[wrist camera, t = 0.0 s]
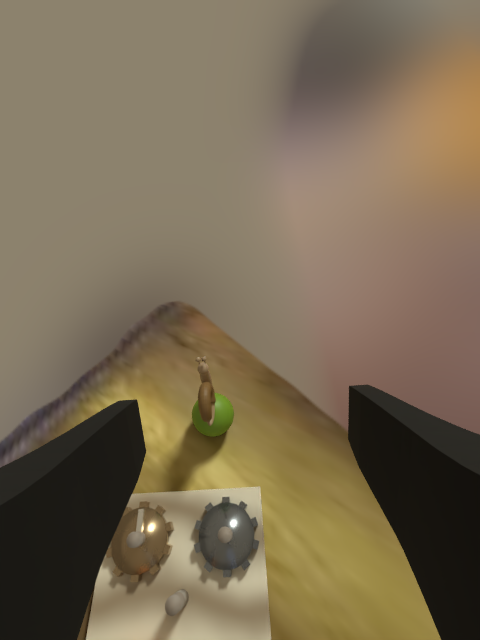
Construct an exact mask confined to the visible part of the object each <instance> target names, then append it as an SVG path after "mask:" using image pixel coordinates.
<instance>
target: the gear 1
mask: <svg viewBox="0 0 480 640" xmlns="http://www.w3.org/2000/svg"><path fill="white" fill-rule="evenodd" d="M149 505H150V502H147V501H143V502H140V504H139V508H136V509H133V510H132V508H131V507H127V508H126V509H125V511H124V513H123V518H122V519H121V520H120V522H119V525H118V527H117V529H116V531H115V534H114V536H113V538H112V541H111V547H110V548H108V550H107V552H106V558H110V557H112V558H113V561H114V563H115V565H116V567H115V569H114V570H113V571H112V572H113V573H114V574H115V575H116V576H117V577H120V576H122V575H123V574H124V573H126V574H129V575H131V579H130V582H139V581H141V580H142V573H145V572H148V571H150V573H151V575H154V574H156V573H157V572H158V571H159V570H160V569H161V566H160V564H159V562H160V561H161V559H162V558H163V556H164V554H166V555H169V554H171V550H172V547H173V545H170V544H168V542H169V532H170V531H172V530H174V527H173V522H167V521H166V519H165V518H164V516H163V514H164V513H165V511H166V510H165V509H164V508H163V507H162V506H159V505H158V506H157V507H156V509H153V508H149ZM131 532H143V533H144V534H145V542H144V544H143V545H142V546H141V547H137V548H130V547H128V546H127V542H126V540H127V537H128V535H129V534H130V533H131Z"/></svg>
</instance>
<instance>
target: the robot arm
mask: <svg viewBox="0 0 480 640" xmlns="http://www.w3.org/2000/svg"><path fill="white" fill-rule="evenodd" d="M348 440H349V442H350V445H351V448H352V451H353V453H354V456H355V458H356V461H357V463H358V466H359V468H360V470H361V472H362V474H363V475H364V477H365V479H366V481H367V483H368V485H369V487H370V488H371V490H372V492H373V494H374V496H375V498H376V499H377V501H378V503H379V505H380V507H381V509H382V510H383V512H384V514H385V516H386V518H387V520H388V521H389V523H390V525H391V527H392V529H393V530H394V532H395V534H396V536H397V538H398V540H399V542H400V544H401V546H402V548H403V550H404V552H405V555H406V557H407V559H408V562H409V564H410V566H411V568H412V571H413V573H414V575H415V578H416V580H417V582H418V585H419V587H420V589H421V592H422V594H423V596H424V599H425V601H426V604H427V606H428V608H429V611H430V613H431V616H432V618H433V621H434V623H435V625H436V628H437V630H438V633H439V635H440V637H441V640H480V435H479V434H476V433H473V432H471V431H468V430H466V429H463V428H461V427H458V426H456V425H453V424H451V423H449V422H446V421H444V420H442V419H440V418H437V417H435V416H433V415H431V414H428V413H426V412H424V411H422V410H420V409H418V408H416V407H414V406H411V405H409V404H408V403H406V402H404V401H402V400H400V399H397V398H396V397H393V396H392V395H389V394H388V393H385V392H383V391H381V390H379V389H377V388H375V387H372V386H370V385H358V386H349V427H348ZM145 454H146V448H145V442H144V436H143V430H142V425H141V419H140V413H139V407H138V402H137V400H123V401H118V402H116V403H114V404H112V405H110V406H108V407H107V408H105V409H103V410H101V411H100V412H98V413H97V414H95V415H93V416H92V417H90V418H88V419H87V420H85V421H84V422H82V423H80V424H79V425H77V426H76V427H74V428H72V429H71V430H69V431H67V432H66V433H64V434H62V435H61V436H59V437H57V438H55V439H54V440H52V441H50V442H48V443H47V444H45V445H43V446H41V447H40V448H38V449H36V450H34V451H33V452H31V453H29V454H27V455H25V456H23V457H21V458H19V459H17V460H15V461H13V462H11V463H9V464H7V465H5V466H3V467H1V468H0V640H77V638H78V634H79V631H80V628H81V625H82V622H83V618H84V615H85V612H86V609H87V606H88V603H89V600H90V597H91V594H92V591H93V588H94V585H95V582H96V579H97V576H98V573H99V570H100V567H101V565H102V562H103V560H104V557H105V555H106V552H107V550H108V547H109V545H110V543H111V540H112V538H113V536H114V534H115V531H116V529H117V527H118V525H119V522H120V520H121V518H122V516H123V513H124V511H125V509H126V507H127V504H128V502H129V500H130V497H131V495H132V493H133V490H134V488H135V486H136V483H137V481H138V478H139V475H140V472H141V468H142V465H143V461H144V457H145Z"/></svg>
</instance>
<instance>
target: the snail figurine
mask: <svg viewBox="0 0 480 640" xmlns="http://www.w3.org/2000/svg"><path fill="white" fill-rule="evenodd" d="M196 361H197V362H199V366H198V372H199V373H200V378H201V382H202V384H201V386H200V389H199V393H198V400H197V402H196V403H195V405H194V407H193V410H192V420H193V423H194V426H195V427H196V429H197V430H198V431H199V432H200V433H202V434H204V435H206V436H219V435H221V434H223V433H224V432H226V431H227V430H228V429H229V427H230V426H231V424H232V422H233V418H234V411H233V407H232V404H231V403H230V401H229V400H228V399H227V398H226V397H225V396H223V395H221V394H218V393H214V389H213V386H212V381H211V375H210V373H209V367H208V365H207V364H206V363H204V362H205V361H206V357H202V361H204V362H202V363H200V358H199V357H198V358H196Z"/></svg>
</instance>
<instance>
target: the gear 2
mask: <svg viewBox="0 0 480 640" xmlns="http://www.w3.org/2000/svg"><path fill="white" fill-rule="evenodd" d="M247 506H248V505H247V504H245V503H244V502H243V501H241V502H240V504H239V505H237V504H234V503H230V497H222V503H220V504H217V505H215V506H213V504H212V503H211V502H210V503H209V504H208V505H207V506H205V509H206V510H207V513H206V515H205V516H204V518H203V520H202V521H199V520H197V521H196V524H195V529H198V530H199V542H198V543H196V544H194V548H195V552H196V553H198V552H202V554H203V556H204V558H205V559H206V561H207V562H206V564H205V565H204V568H205V569H206V570H207V571H209V572H211V571H212V569H213V567H215V568H217V569H220V570H223V577H231V576H232V569H235V568H237V567H239V566H240V565H241V566H242V568H243V570H244V571H245V569H246V568H247V567H248V566H249V565H250V564H251V563H250V562H249V560H248V559H247V558H248V556H249V555H250V553H251V551H252V548H253V549H256V550H258V546H259V540H256V539H254V527H255V526H258V522H257V519H256V517H254V518H252V519H251V518H250V517H249V515H248V513H247V512H246V511H245V510H246V508H247ZM222 527H229V528H230V529H231V530H232V532H233V537H232V539H231V541H230V542H227V543H222V542H221V541H220V540H219V538H218V532H219V530H220V528H222Z"/></svg>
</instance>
